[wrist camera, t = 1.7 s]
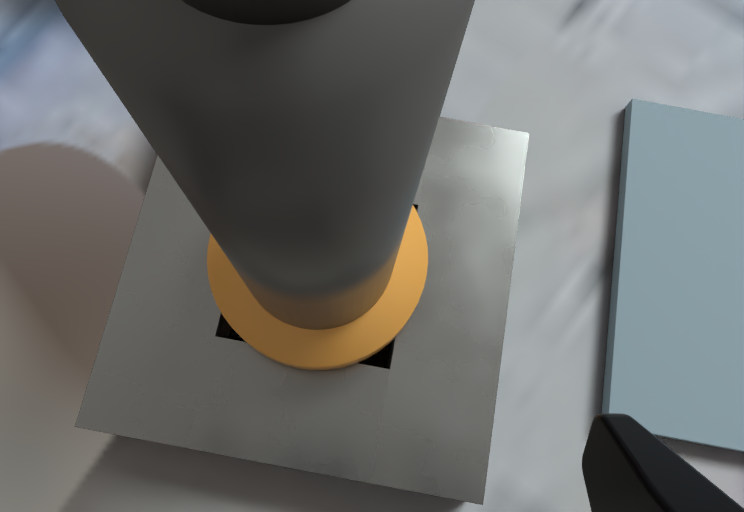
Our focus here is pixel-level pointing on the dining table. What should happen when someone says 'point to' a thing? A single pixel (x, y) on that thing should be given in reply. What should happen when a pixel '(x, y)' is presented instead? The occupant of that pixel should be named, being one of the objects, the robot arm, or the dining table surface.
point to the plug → (292, 151)
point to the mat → (679, 277)
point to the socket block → (336, 386)
